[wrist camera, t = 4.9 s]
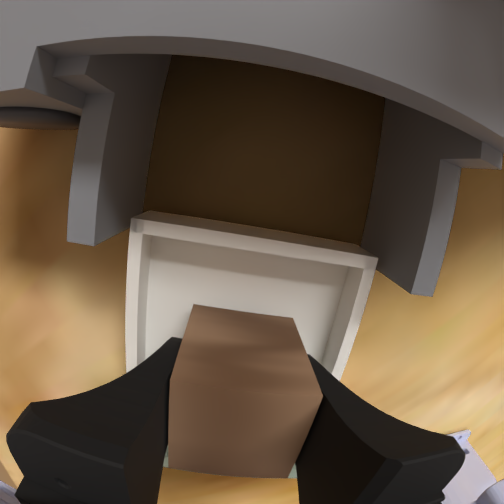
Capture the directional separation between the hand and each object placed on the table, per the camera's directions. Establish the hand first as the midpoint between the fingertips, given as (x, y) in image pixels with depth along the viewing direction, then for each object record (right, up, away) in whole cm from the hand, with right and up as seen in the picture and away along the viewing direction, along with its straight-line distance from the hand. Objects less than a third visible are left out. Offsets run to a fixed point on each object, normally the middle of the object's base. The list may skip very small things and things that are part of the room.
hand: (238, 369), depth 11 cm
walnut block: (0, 0, +2) cm, 2 cm away
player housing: (-1, +11, +1) cm, 11 cm away
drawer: (0, +1, +4) cm, 4 cm away
